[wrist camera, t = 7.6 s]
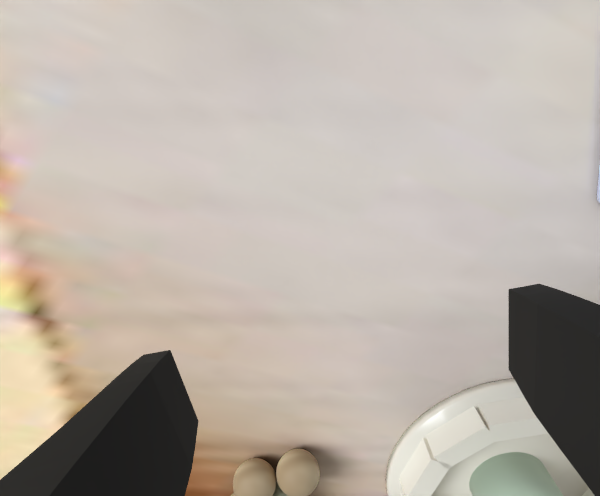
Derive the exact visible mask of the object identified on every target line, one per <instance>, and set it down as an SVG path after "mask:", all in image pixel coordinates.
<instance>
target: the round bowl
mask: <svg viewBox="0 0 600 496" xmlns="http://www.w3.org/2000/svg"><path fill="white" fill-rule="evenodd" d="M509 452H522V453H527V454H530V455H533V456H535V457H536V458H538V459H539V460H540V461H541V462H542V463H543V465H544V466H545V468H546V469H547V471H548V473H549V474H550V476H551V477H552V479H553V480H554V482H555V483H556V485H557V486H558V488H559V489H560V491H561V492H562V494H563V496H595V495H594V494H593V493H592V491H591V490H590V489H589V487H588V486H587V485H586V483H585V482H584V481H583V479H582V478H581V477H580V475H579V474H578V472H577V471H576V470H575V468H574V467H573V466H572V464H571V463H570V462H569V460H568V459H567V458H566V456H565V455H564V454H563V452H562V451H561V450H560V448H559V447H558V446H557V444H556V443H555V442H554V440H553V439H552V438H551V436H550V435H549V433H548V432H547V431H546V429H545V428H544V427H543V425H542V424H541V422H540V421H539V420H538V418H537V417H536V416H535V414H534V413H533V411H532V409H531V407H530V406H529V404H528V402H527V401H526V399H525V397H524V396H523V394H522V392H521V390H520V388H519V387H518V385H517V383H516V381H515V379H514V378H513V379H505V380H499V381H494V382H489V383H485V384H482V385H479V386H475V387H472V388H469V389H467V390H464V391H462V392H460V393H457V394H455V395H453V396H451V397H449V398H447V399H445V400H444V401H442V402H440V403H438V404H437V405H435V406H434V407H432V408H431V409H429V410H428V411H427V412H425V413H424V414H423V415H421V416H420V417H419V418H418V419H417V420H416V421H415V422H414V423H412V425H411V426H410V427H409V428H408V429H407V430H406V431H405V432H404V434H403V435H402V436H401V438H400V439H399V441H398V442H397V444H396V445H395V447H394V450H393V452H392V454H391V456H390V459H389V462H388V466H387V471H386V489H387V493H388V496H473V495H472V493H471V491H470V487H469V481H470V477H471V475H472V473H473V472H474V470H475V469H476V468H477V467H478V466H479V465H480V464H481V463H483V462H484V461H486V460H487V459H489V458H491V457H494V456H496V455H499V454H503V453H509Z"/></svg>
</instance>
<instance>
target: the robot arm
mask: <svg viewBox="0 0 600 496" xmlns="http://www.w3.org/2000/svg"><path fill="white" fill-rule="evenodd" d="M597 200H598V202H599V203H600V167H599V179H598V190H597ZM509 370H510V372H511V374H512V376H513V378H514V379H515V381H516V383H517V385H518V387H519V388H520V390H521V392H522V394H523V396H524V397H525V399H526V401H527V402H528V404H529V406H530V407H531V409H532V411H533V413H534V414H535V416H536V417H537V418H538V420H539V421H540V422H541V424H542V425H543V427H544V428H545V429H546V431H547V432H548V433H549V435H550V436H551V438H552V439H553V440H554V442H555V443H556V444H557V446H558V447H559V448H560V450H561V451H562V452H563V454H564V455H565V456H566V458H567V459H568V460H569V462H570V463H571V464H572V466H573V467H574V468H575V470H576V471H577V472H578V474H579V475H580V477H581V478H582V479H583V481H584V482H585V483H586V485H587V486H588V487H589V489H590V490H591V491H592V493H593V494H594V495H595V496H600V305H598V304H596V303H593V302H590V301H588V300H585V299H582V298H580V297H577V296H574V295H571V294H569V293H566V292H563V291H560V290H557V289H554V288H551V287H548V286H545V285H541V284H536V285H530V286H525V287H519V288H514V289H509ZM197 427H198V419H197V417H196V414H195V412H194V409H193V406H192V404H191V401H190V399H189V396H188V394H187V391H186V389H185V386H184V384H183V381H182V379H181V376H180V374H179V371H178V368H177V366H176V363H175V361H174V358H173V356H172V353H171V351H170V350H168V351H163V352H157V353H152V354H146V355H143V356H141V357H140V358H139V359H138V360H136V361H135V362H134V363H132V364H131V365H130V366H129V367H128V368H127V369H125V370H124V371H123V372H122V373H121V374H120V375H119V376H118V377H116V378H115V379H114V380H113V381H112V382H111V383H110V384H109V385H108V386H106V387H105V388H104V389H103V390H102V391H101V392H100V393H99V394H98V395H97V396H96V397H94V398H93V399H92V400H91V401H90V402H89V403H88V404H87V405H86V406H85V407H83V408H82V409H81V410H80V411H79V412H78V413H77V414H76V415H75V416H73V417H72V418H71V419H70V420H69V421H68V422H67V423H66V424H65V425H64V426H62V427H61V428H60V429H59V430H58V431H57V432H56V433H55V434H53V435H52V436H51V437H50V438H49V439H48V440H46V441H45V442H44V443H43V444H42V445H41V446H39V447H38V448H37V449H36V450H35V451H34V452H32V453H31V454H30V455H29V456H28V457H27V458H25V459H24V460H23V461H22V462H21V463H20V464H18V465H17V466H16V467H15V468H14V469H13V470H11V471H10V472H9V473H8V474H7V475H6V476H4V477H3V478H2V479H1V480H0V496H185V492H186V488H187V485H188V481H189V477H190V473H191V469H192V463H193V456H194V450H195V443H196V435H197Z"/></svg>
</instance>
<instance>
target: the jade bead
mask: <svg viewBox="0 0 600 496" xmlns="http://www.w3.org/2000/svg"><path fill="white" fill-rule="evenodd" d="M469 487H470V491H471V493H472V495H473V496H563V494H562V492H561V491H560V489H559V488H558V486H557V485H556V483H555V482H554V480H553V479H552V477H551V476H550V474H549V473H548V471H547V469H546V468H545V466H544V465H543V463H542V462H541V461H540V460H539V459H538V458H536V457H535V456H533V455H530V454H527V453H522V452H509V453H503V454H499V455H496V456H494V457H491V458H489V459H487V460H486V461H484V462H483V463H481V464H480V465H479V466H478V467H477V468H476V469H475V470H474V472H473V473H472V475H471V477H470V481H469Z"/></svg>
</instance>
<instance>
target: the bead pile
mask: <svg viewBox="0 0 600 496" xmlns="http://www.w3.org/2000/svg"><path fill="white" fill-rule="evenodd" d="M276 477H277V482H276ZM319 478H320V470H319V465H318V462H317V460H316V459H315V457H314V456H313V455H312V454H311V453H310V452H308V451H306V450H304V449H292V450H290V451H288V452H286V453H285V454H284V455H283V456H282V457H281V459H280V461H279V463H278V465H277V470H276V475H275V472H274V470H273V468H272V466H271V465H270V464H269V463H268V462H267V461H265V460H263V459H260V458H252V459H248V460H246V461H245V462H243V463H242V464H241V465H240V466H239V467H238V469H237V470H236V472H235V475H234V479H233V490H234V493H233V494H232V495H231V496H308V495H310V494H311V493H312V492H313V491H314V490H315V488H316V487H317V485H318V482H319Z"/></svg>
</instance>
